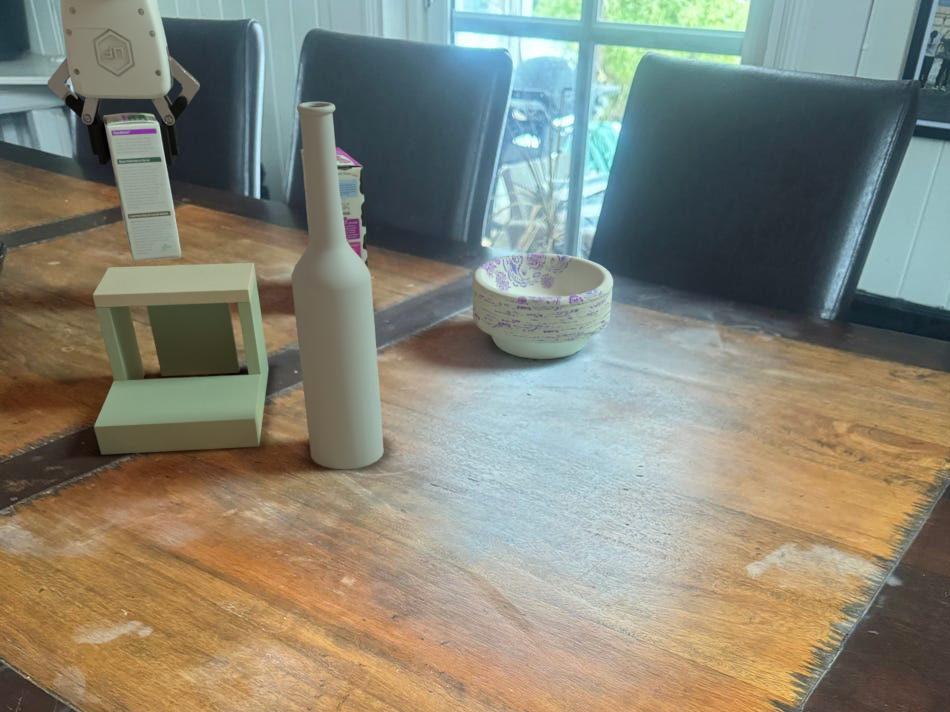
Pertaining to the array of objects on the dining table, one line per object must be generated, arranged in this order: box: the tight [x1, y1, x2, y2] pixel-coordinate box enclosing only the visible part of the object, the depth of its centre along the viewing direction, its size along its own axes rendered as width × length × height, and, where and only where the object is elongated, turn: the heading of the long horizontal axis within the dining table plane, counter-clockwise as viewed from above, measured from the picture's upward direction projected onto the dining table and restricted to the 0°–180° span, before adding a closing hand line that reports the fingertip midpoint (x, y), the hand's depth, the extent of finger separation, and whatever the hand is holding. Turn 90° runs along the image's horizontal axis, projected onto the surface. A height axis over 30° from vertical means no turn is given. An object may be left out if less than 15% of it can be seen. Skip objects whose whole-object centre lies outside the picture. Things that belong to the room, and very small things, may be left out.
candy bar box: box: [300, 146, 369, 269], centre depth 112 cm, size 11×5×16 cm, turn 21°
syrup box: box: [103, 112, 182, 262], centre depth 108 cm, size 6×6×14 cm
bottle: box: [291, 101, 385, 470], centre depth 77 cm, size 7×7×28 cm
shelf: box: [92, 262, 270, 455], centre depth 89 cm, size 14×18×11 cm
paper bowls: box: [471, 252, 614, 360], centre depth 104 cm, size 15×15×8 cm
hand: (138, 160), depth 107 cm, fingers closed on syrup box, 6 cm apart
